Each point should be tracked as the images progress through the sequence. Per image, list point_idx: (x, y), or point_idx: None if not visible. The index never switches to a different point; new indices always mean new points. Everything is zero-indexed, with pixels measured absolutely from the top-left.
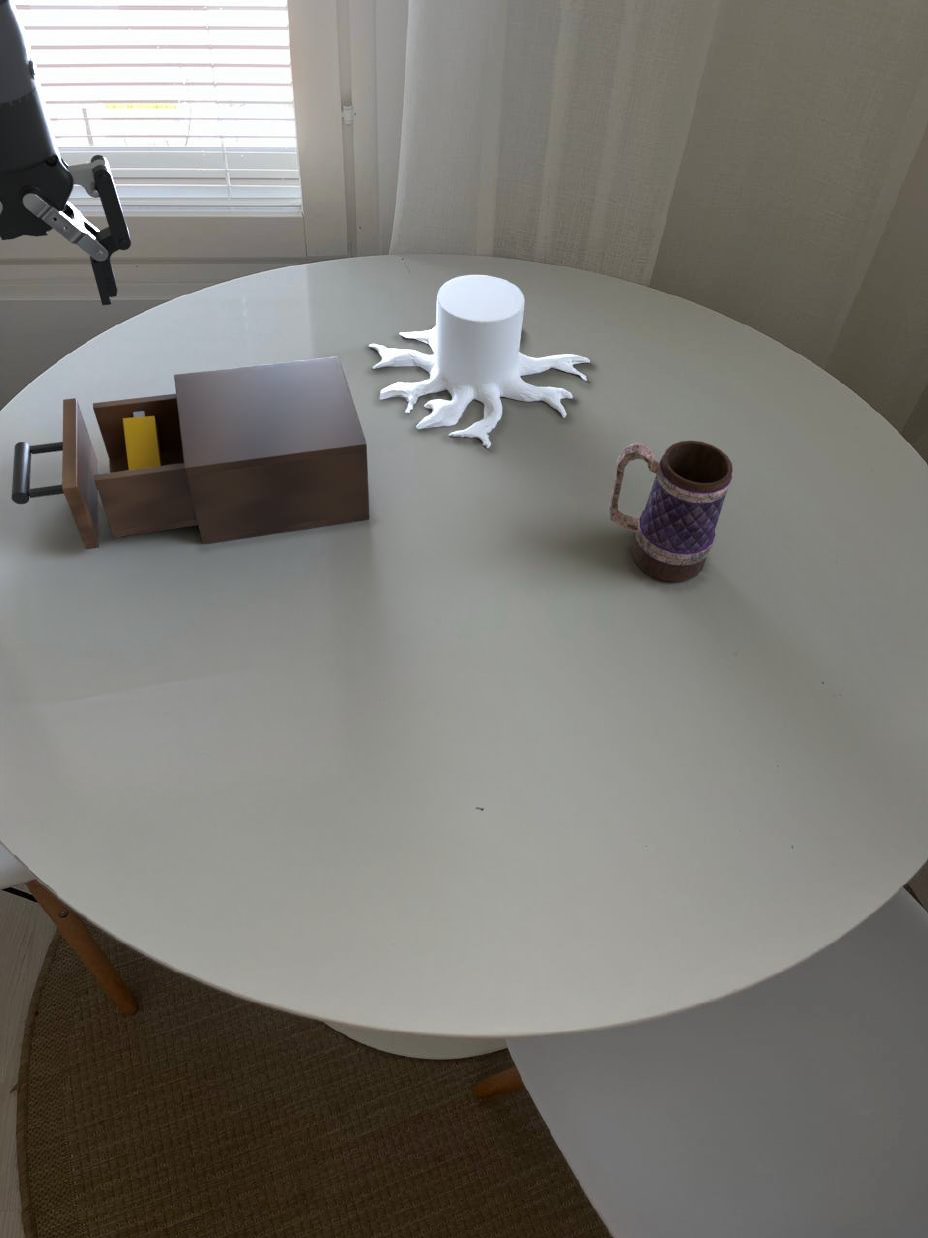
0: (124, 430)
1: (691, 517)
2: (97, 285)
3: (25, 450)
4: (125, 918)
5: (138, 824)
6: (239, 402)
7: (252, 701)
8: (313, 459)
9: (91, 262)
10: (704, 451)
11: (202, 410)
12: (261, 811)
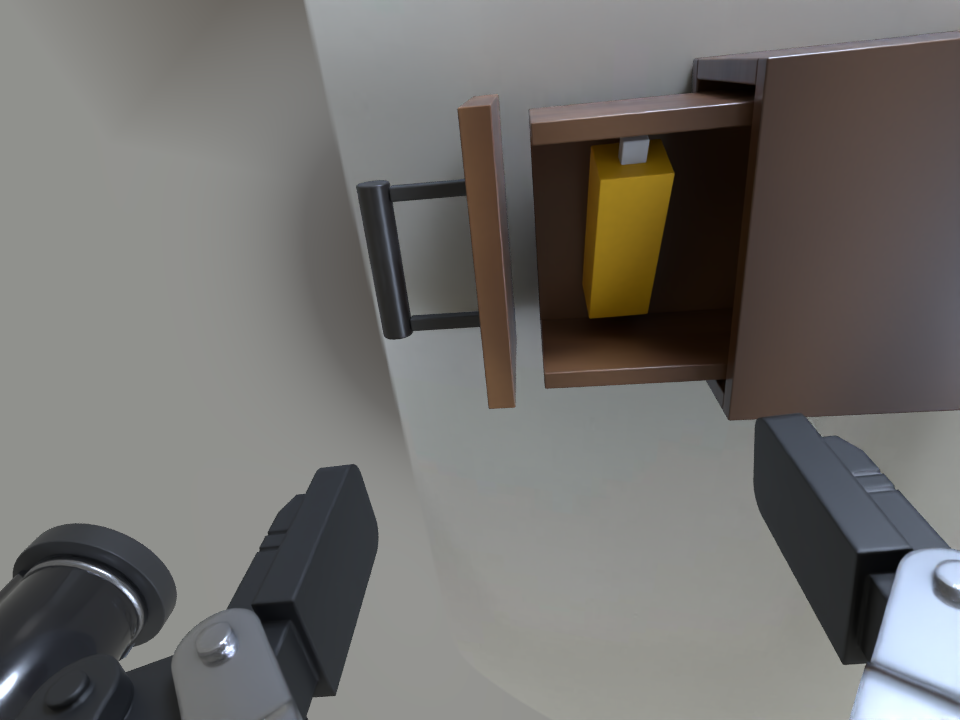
0: (599, 208)
1: None
2: (793, 573)
3: (383, 212)
4: (555, 714)
5: (566, 659)
6: (911, 216)
7: (696, 573)
8: None
9: (846, 662)
10: None
11: (808, 238)
12: (680, 667)
